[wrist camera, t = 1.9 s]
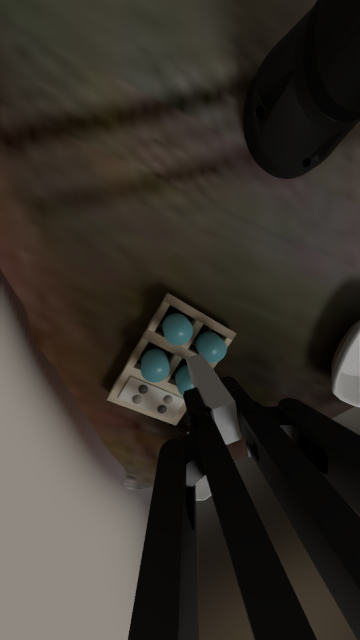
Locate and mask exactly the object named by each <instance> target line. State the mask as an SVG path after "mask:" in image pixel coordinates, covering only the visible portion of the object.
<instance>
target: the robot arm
mask: <svg viewBox="0 0 360 640" xmlns="http://www.w3.org/2000/svg"><path fill="white" fill-rule="evenodd" d="M359 121H360V0H317V2H316V3H315V5H314V6H313V7H312V8H311V10H310V11H309V12H308V13H307V14H306V15H305V16H304V17H303V18H302V19H301V20H300V21H299V22H298V23H297V24H296V25H295V26H294V27H293V28H292V29H291V30H290V31H289V32H288V33H287V34H286V35H285V36H284V37H283V38H282V39H281V40H280V41H279V42H278V43H277V44H276V45H275V47H274V48H273V49H272V50H271V51H270V52H269V54H268V55H267V56H266V58H265V59H264V61H263V63H262V64H261V66H260V68H259V70H258V72H257V73H256V75H255V77H254V79H253V81H252V83H251V85H250V88H249V90H248V94H247V97H246V101H245V108H244V130H245V136H246V140H247V144H248V146H249V149H250V151H251V153H252V155H253V157H254V159H255V160H256V162H257V163H258V164H259V165H260V166H261V168H263V169H264V170H265V171H266V172H267V173H269V174H271V175H273V176H275V177H278V178H283V179H291V178H296V177H299V176H301V175H303V174H305V173H307V172H308V171H310V170H311V169H313V168H314V167H316V166H318V165H319V164H320V163H321V162H323V161H324V160H325V159H326V158H327V157H328V156H329V155H330V154H331V153H332V151H333V150H334V149H335V148H336V147H337V146H338V145H339V144H340V142H341V141H342V140H343V139H344V138H345V137H346V136H347V134H348V133H349V132H350V131H351V130H352V129H353V128H354V126H355V125H356V124H357V123H358V122H359ZM186 362H187V366H188V370H189V374H190V377H191V381H192V385H193V387H194V388H192V389H189V390H186V391H184V394H183V398H184V402H185V405H186V409H187V413H188V416H189V419H190V423H191V429H190V432H189V433H188V435H187V436H185V437H184V438H183V439H182V440H179V439H170V440H168V441H166V442H165V443H164V444H163V445H162V447H161V449H160V452H159V457H158V463H157V469H156V475H155V481H154V487H153V493H152V499H151V505H150V511H149V517H148V523H147V529H146V536H145V541H144V547H143V553H142V559H141V565H140V571H139V577H138V583H137V589H136V595H135V601H134V607H133V612H132V618H131V624H130V630H129V636H128V640H199V623H198V622H199V620H198V578H197V577H198V575H197V574H198V573H197V531H196V529H197V528H196V485H195V484H196V483H197V482H198V481H199V480H201V479H202V478H203V477H204V476H205V475H206V478H207V481H208V485H209V488H210V492H211V495H212V498H213V502H214V505H215V508H216V512H217V515H218V518H219V522H220V525H221V528H222V532H223V536H224V539H225V542H226V546H227V549H228V553H229V556H230V559H231V563H232V566H233V570H234V573H235V576H236V580H237V583H238V586H239V590H240V593H241V597H242V600H243V604H244V607H245V610H246V613H247V617H248V621H249V624H250V627H251V631H252V634H253V637H254V640H317V639H316V637H315V635H314V632H313V630H312V628H311V626H310V625H309V622H308V620H307V617H306V615H305V613H304V611H303V609H302V607H301V605H300V603H299V600H298V598H297V596H296V594H295V592H294V590H293V587H292V585H291V584H290V581H289V579H288V577H287V575H286V572H285V570H284V568H283V566H282V564H281V562H280V560H279V557H278V555H277V553H276V551H275V549H274V547H273V545H272V542H271V540H270V538H269V536H268V534H267V532H266V530H265V527H264V526H263V523H262V521H261V519H260V517H259V515H258V513H257V511H256V508H255V506H254V504H253V502H252V500H251V497H250V495H249V493H248V491H247V489H246V487H245V485H244V482H243V480H242V478H241V476H240V474H239V472H238V470H237V468H236V466H235V463H234V461H233V459H232V457H231V455H230V453H229V450H228V448H227V446H226V445H227V444H229V443H232V442H235V441H238V440H240V439H242V435H243V437H244V438H245V442H246V448H247V453H248V456H249V457H250V453H251V455H252V457H253V458H254V460H255V462H256V464H257V466H258V467H259V469H260V471H261V473H262V474H263V476H264V478H265V480H266V481H267V483H268V485H269V486H270V488H271V490H272V492H273V493H274V495H275V497H276V498H277V500H278V502H279V504H280V506H281V507H282V509H283V511H284V512H285V514H286V516H287V517H288V520H289V521H290V523H291V525H292V527H293V528H294V530H295V532H296V534H297V535H298V537H299V539H300V540H301V542H302V544H303V546H304V547H305V549H306V551H307V553H308V554H309V556H310V558H311V560H312V561H313V563H314V565H315V567H316V568H317V570H318V572H319V574H320V575H321V577H322V579H323V581H324V582H325V584H326V586H327V588H328V589H329V591H330V593H331V594H332V596H333V598H334V599H335V601H336V603H337V605H338V606H339V608H340V610H341V612H342V614H343V615H344V617H345V619H346V620H347V622H348V624H349V626H350V628H351V629H352V631H353V633H354V634H355V636H356V638H357V640H360V517H359V516H358V515H357V514H356V513H355V511H354V510H353V509H352V508H351V507H350V506H349V505H348V503H349V504H350V505H351V506H352V507H353V508H354V509H356V510H357V511H358V512H359V513H360V435H358V434H356V433H354V432H353V431H351V430H349V429H347V428H346V427H344V426H342V425H341V424H339V423H337V422H335V421H334V420H332V419H330V418H328V417H327V416H325V415H323V414H321V413H320V412H318V411H316V410H315V409H313V408H311V407H309V406H308V405H306V404H304V403H302V402H301V401H299V400H296V399H292V398H285V399H282V400H280V402H279V404H278V406H274V407H264V406H262V405H261V404H259V403H258V402H255V401H253V400H252V399H251V398H250V397H249V396H248V394H247V393H246V392H245V391H244V390H243V388H241V386H240V385H239V384H238V383H237V381H236V380H235V379H234V378H232V377H230V376H227V377H224V378H221V379H219V378H218V376H217V375H216V373H215V372H214V370H213V369H212V368H211V366H210V365H209V363H208V362H207V360H206V359H205V357H204V356H203V355H202V353H200V354H197V355H194V356H191V357H187V358H186ZM241 433H242V435H241ZM346 501H347V502H348V503H347V502H346Z"/></svg>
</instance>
